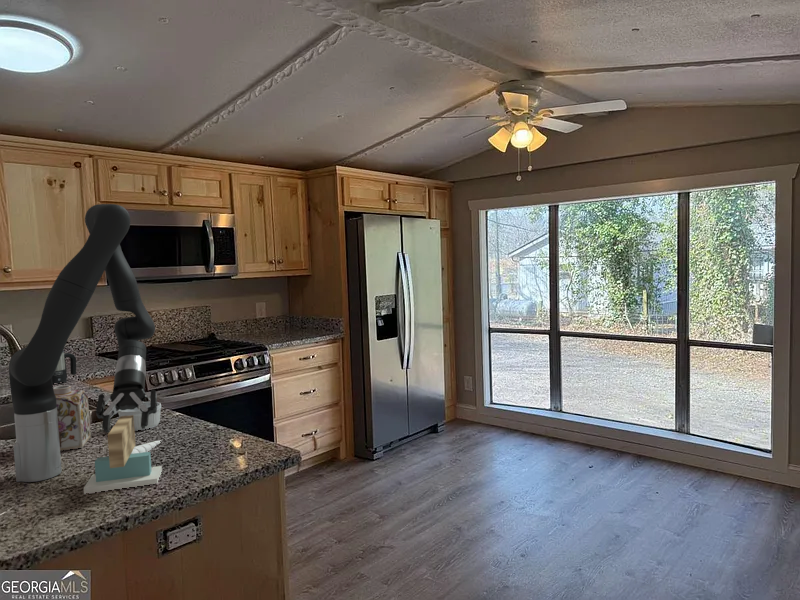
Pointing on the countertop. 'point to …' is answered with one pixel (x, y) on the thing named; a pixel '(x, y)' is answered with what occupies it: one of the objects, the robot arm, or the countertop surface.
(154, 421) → the ramekin
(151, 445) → the unicorn horn
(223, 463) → the countertop surface
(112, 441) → the wooden beam
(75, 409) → the decorative jar
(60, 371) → the milk frother
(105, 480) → the ridge stand
